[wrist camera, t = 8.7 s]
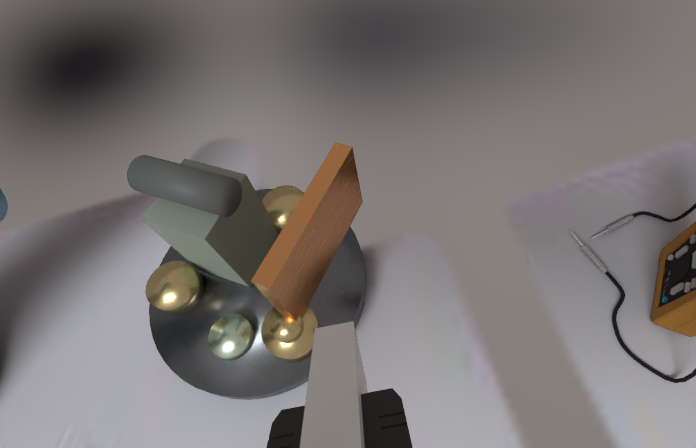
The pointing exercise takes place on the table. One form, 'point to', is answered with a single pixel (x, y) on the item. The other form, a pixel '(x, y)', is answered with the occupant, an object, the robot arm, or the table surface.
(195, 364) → the tribrach plate
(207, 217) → the wedge with rod handle
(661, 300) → the multimeter
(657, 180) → the table surface
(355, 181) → the lever
